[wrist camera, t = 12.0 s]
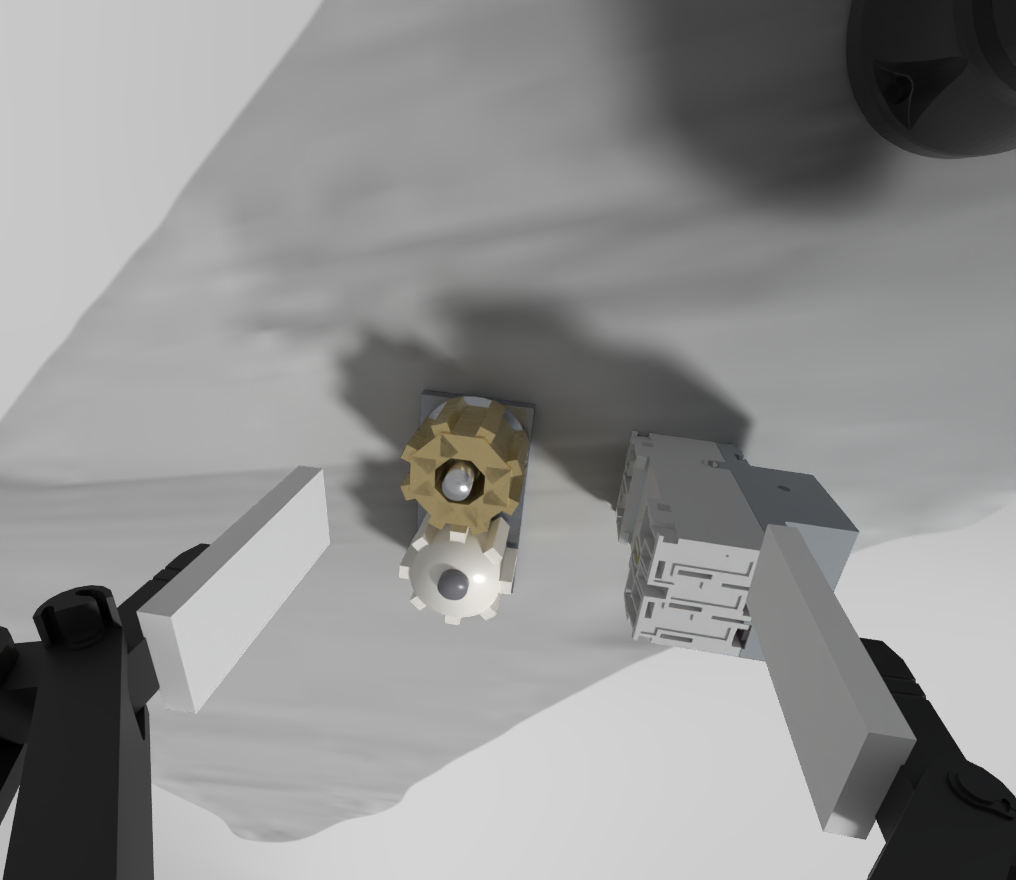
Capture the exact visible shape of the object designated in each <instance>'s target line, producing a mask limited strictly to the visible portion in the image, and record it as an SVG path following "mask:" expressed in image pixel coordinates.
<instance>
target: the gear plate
mask: <svg viewBox="0 0 1016 880" xmlns="http://www.w3.org/2000/svg"><path fill="white" fill-rule="evenodd" d="M460 396H463V398H464V401H465V403H466V405H472V406H480V407H487V408H488V407H489V405H490V403H491V401H492V400H494V401H496V402H498V403H500V404H502V405H504V406H505V407H506V408H505V411H504V414H503V417H504V418H505V420H506V421H507V422H508V423H509V424H510V425H511V427H512V428H513V429H514V430H515V431H519V430H523V429H525V431H526V434H527V437H528V440H529V446H528V451H527V456H526V460H525V465H524V468H526V472H525V477H524V482H523V487H522V492H521V497H520V501H519V504H518V506H517V507H516V509H515V511H514V512H513V514H512V515H509V514H507V513H505V512H504V511H501V512H499V513H498V514H496V515H495V516H493V517H492V518H491V521H494V520H496V519H498V518H499V517H502V518H503V519H504V520H505V521H506V523H507V524H508V525H509V526H510V528H509V532H508V537H507V541H506V545H507V548H513V549H518V544H519V536H520V527H521V518H522V510H523V501H524V493H525V484H526V476H527V467H528V459H529V450H530V442H531V433H532V424H533V416H534V407H535V404H529V403H521V402H513V401H505V400H497V399H489V398H482V397H477V396H466V395H458V394H450V393H442V392H434V391H427V390H424V391H423V392H422V393H421V406H420V426H421V424H422V423H423V422H424V420H425V419H426V417H427V416H428V417H429V418H431V419H433V420H435V419H436V418H437V416H438V415H439V413H440V412H441V410H442V409H443V407H444V406H445V404H446V403H447V401H448V400H449V399H452V398H456V397H460ZM477 472H478V468H477V467H476V465H475V464H474V463H473V462H472V461H469V460H461V459H454V461H453V463H452V465H451V467H450V469H449V471H448V473H447V475H446V477H445V479H444V481H443V483H442V491H443V493H444V495H445V496H446V497H448V498H449V499H451V500H454V501H461V500H463V499H465V498H466V497H467V496H468V495H469V493H470V490H471V488H472V485H473V482H474V480H475V477H476V474H477ZM427 513H428V512H427V511H426V510H425V509H424V508H423V506H422V505H421V504H420V503H419V502H418V514H417V532H418V530H419V528H420V526H421V523H422V521H423V519H424V517H425V515H426V514H427ZM517 553H518V552H517ZM515 570H516V566H515ZM514 578H515V572H514V577H513V583H512V588H511V593H512V592H513V587H514Z"/></svg>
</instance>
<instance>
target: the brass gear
mask: <svg viewBox="0 0 1016 880" xmlns="http://www.w3.org/2000/svg"><path fill="white" fill-rule="evenodd" d="M505 408H506V407H505V406H504V405H502V404H500V403H498V402H496V401H494V400H492V401H491V403H490V405H489V407H488V408H487V407H480V406H472V405H466V403H465V401H464V398H463V396H460V397H456V398H452V399H449V400H448V401H447V403H446V404H445V406H444V407H443V409H442V410H441V412H440V413H439V415H438V416H437V418H436V419H435V420H433V419H431V418H429V417H428V416H427V417H426V419H425V420H424V422H423V423H422V424H421V426H420V427H419V429H418V430H417V432H416V433H415V434H414V436H413V437H412V439H411V440H410V441H409V443H408V444H407V446H406V448H405V450H404V452H403V454H402V456H401V458H402V459H404V460H406V461H407V462H409V463H411V465H410V472H409V473H408V475H407V477H406V478H405V480H404V481H403V483H402V485H401V486H400V487H401V490H402V492H403V494H404V497H405V499H406V500H411V499H416V500H417V501H418V502H419V503H420V504H421V505H422V506H423V508H424V509H425V510H426V511H427V512H428V513H429V514H430V515H431V516H430V518H429V520H428V522H427V523H429V524H431V525H433V526H435V527H437V528H439V529H441V530H442V528H443V527H444V525H445V523H448V524H455V525H462V526H469V527H470V530H471V533H472V534H477V533H482V532H487V531H488V527H489V524H490V520H491V518H492V517H493V516H495V515H496V514H498V513H499V512H501V511H504V512H505V513H507V514H509V515H512V514H513V512H514V511H515V509H516V507H517V506H518V504H519V501H520V497H521V492H522V487H523V482H524V477H525V472H526V468H524V465H525V460H526V456H527V451H528V446H529V440H528V437H527V434H526V431H525V429H523V430H519V431H515V430H514V429H513V428H512V427H511V425H510V424H509V423H508V422H507V421H506V420H505V418H504V417H503V414H504V411H505ZM454 459H461V460H469V461H472V462H473V463H474V464H475V465H476V467H477V468H478V472H477V474H476V477H475V480H474V482H473V485H472V488H471V490H470V493H469V495H468V496H467V497H466V498H465V499H463V500H461V501H454V500H451V499H449V498H448V497H446V496H445V495H444V493H443V491H442V483H443V481H444V479H445V477H446V475H447V473H448V471H449V469H450V467H451V465H452V463H453V461H454Z"/></svg>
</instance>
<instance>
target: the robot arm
mask: <svg viewBox="0 0 1016 880" xmlns="http://www.w3.org/2000/svg"><path fill="white" fill-rule="evenodd" d="M847 65H848V72H849V78H850V82H851V86H852V89H853V92H854V95H855V98H856V100H857V102H858V104H859V106H860V108H861V110H862V112H863V114H864V115H865V117H866V118H867V119H868V121H869V122H870V123H871V125H872V126H873V127H874V128H875V129H876V130H877V131H878V132H879V133H880V134H881V135H882V136H883V137H885V138H886V139H887V140H889V141H890V142H892V143H893V144H895V145H896V146H898V147H900V148H902V149H904V150H907V151H909V152H912V153H915V154H918V155H922V156H926V157H932V158H943V159H957V158H967V157H977V156H986V155H992V154H998V153H1002V152H1006V151H1010V150H1013V149H1016V0H853V4H852V8H851V12H850V18H849V23H848V32H847ZM329 544H330V538H329V528H328V518H327V508H326V498H325V488H324V478H323V469H321V468H313V467H305V466H298V467H297V468H296V469H295V470H294V471H293V472H292V473H291V474H290V475H288V476H287V477H286V478H285V479H284V480H283V481H282V482H281V483H279V484H278V485H277V486H276V487H275V488H274V489H273V490H272V491H271V492H269V493H268V494H267V495H266V496H265V497H264V498H263V499H262V500H260V501H259V502H258V503H257V504H256V505H255V506H254V507H253V508H251V509H250V510H249V511H248V512H247V513H246V514H245V515H244V516H243V517H241V518H240V519H239V520H238V521H237V522H236V523H235V524H234V525H232V526H231V527H230V528H229V529H228V530H227V531H226V532H225V533H224V534H222V535H221V536H220V537H219V538H218V539H217V540H216V541H215V542H213V543H212V544H211V545H209V544H202V543H201V544H199V545H197V546H195V547H193V548H191V549H189V550H187V551H185V552H183V553H181V554H180V555H179V556H178V557H176V558H175V559H174V560H173V561H172V562H170V563H169V564H168V565H167V566H166V567H165V570H164V569H162V570H161V571H160V572H159V573H158V574H156V575H155V576H154V577H153V580H149V581H148V582H147V583H146V584H145V585H143V586H142V587H141V588H140V589H139V590H138V591H136V592H135V593H134V594H133V595H132V596H131V597H129V598H128V599H127V600H126V601H125V602H123V603H122V604H121V605H120V606H119V607H118V608H116V604H115V601H114V598H113V595H112V592H111V590H110V589H108V588H106V587H104V586H94V585H90V586H83V587H77V588H74V589H71V590H68V591H65V592H62V593H60V594H58V595H56V596H54V597H52V598H50V599H49V600H47V601H46V602H45V603H43V604H42V605H41V606H40V607H39V608H38V609H37V610H36V612H35V614H34V616H33V620H34V622H35V625H36V627H37V630H38V633H39V635H40V638H41V640H42V641H37V642H26V643H15V644H14V642H13V639H12V637H11V634H10V633H9V631H8V629H7V628H4V627H1V626H0V825H1V822H2V820H3V818H4V816H5V814H6V812H7V810H8V808H9V806H10V804H11V801H12V800H13V798H14V796H15V793H16V792H17V789H18V787H19V785H20V788H19V793H18V799H17V804H16V809H15V815H14V820H13V826H12V831H11V837H10V842H9V847H8V853H7V859H6V864H5V869H4V875H3V880H154V868H153V832H152V798H151V762H150V727H149V712H148V708H147V705H146V703H147V702H148V700H149V699H150V698H151V697H152V696H153V695H154V694H155V693H156V692H157V690H158V689H159V691H160V695H161V698H162V702H163V705H164V708H166V709H172V710H177V711H182V712H188V713H193V714H196V713H197V712H198V711H199V709H200V708H201V707H202V706H203V704H204V703H205V702H206V701H207V699H208V698H209V697H210V695H211V694H212V693H213V692H214V690H215V689H216V688H217V687H218V685H219V684H220V683H221V681H222V680H223V679H224V678H225V676H226V675H227V674H228V673H229V671H230V670H231V669H232V667H233V666H234V665H235V664H236V662H237V661H238V660H239V659H240V657H241V656H242V655H243V653H244V652H245V651H246V650H247V648H248V647H249V646H250V645H251V643H252V642H253V641H254V639H255V638H256V637H257V636H258V634H259V633H260V632H261V630H262V629H263V628H264V627H265V625H266V624H267V623H268V622H269V620H270V619H271V618H272V616H273V615H274V614H275V613H276V611H277V610H278V609H279V608H280V606H281V605H282V604H283V602H284V601H285V600H286V599H287V597H288V596H289V595H290V594H291V592H292V591H293V590H294V588H295V587H296V586H297V585H298V583H299V582H300V581H301V580H302V578H303V577H304V576H305V574H306V573H307V572H308V571H309V569H310V568H311V567H312V566H313V564H314V563H315V562H316V560H317V559H318V558H319V557H320V555H321V554H322V553H323V552H324V550H325V549H326V548H327V546H328V545H329ZM746 605H747V608H748V611H749V614H750V617H751V620H752V623H753V626H754V629H755V632H756V634H757V637H758V640H759V643H760V646H761V649H762V652H763V655H764V658H765V661H766V664H767V667H768V670H769V673H770V676H771V679H772V681H773V685H774V688H775V691H776V694H777V696H778V700H779V703H780V705H781V708H782V711H783V714H784V717H785V720H786V723H787V726H788V729H789V732H790V735H791V738H792V741H793V744H794V747H795V749H796V753H797V756H798V759H799V762H800V765H801V767H802V770H803V774H804V776H805V779H806V782H807V785H808V788H809V791H810V794H811V797H812V800H813V803H814V806H815V809H816V812H817V815H818V818H819V821H820V824H821V827H822V830H823V832H828V833H833V834H838V835H844V836H849V837H854V838H860V839H866V838H867V836H868V834H869V832H870V830H871V828H872V827H873V825H874V823H875V820H877V823H878V825H879V827H880V829H881V832H882V834H883V837H884V839H885V841H886V844H885V846H884V848H883V849H882V851H881V853H880V855H879V857H878V859H877V860H876V862H875V864H874V866H873V868H872V870H871V872H870V873H869V875H868V878H867V880H1016V798H1015V796H1014V795H1013V794H1012V793H1011V792H1010V791H1009V789H1008V788H1007V787H1006V786H1005V785H1004V784H1003V783H1002V782H1001V781H1000V780H999V779H997V778H996V777H994V776H993V775H992V774H990V773H989V772H988V771H986V770H985V769H984V768H982V767H979V766H977V765H975V764H973V763H971V762H969V761H967V760H966V759H965V757H964V755H963V754H962V752H961V751H960V749H959V748H958V746H957V744H956V743H955V741H954V740H953V738H952V736H951V735H950V733H949V732H948V730H947V728H946V727H945V725H944V724H943V722H942V721H941V719H940V717H939V716H938V714H937V713H936V711H935V710H934V708H933V706H932V705H931V703H930V702H929V700H926V695H925V694H924V692H923V690H922V689H921V687H920V686H919V684H917V683H916V682H915V681H916V679H915V678H914V676H913V675H912V673H911V672H910V670H909V668H908V667H907V665H906V664H905V662H904V660H903V659H901V658H900V657H899V656H898V655H897V654H896V653H895V652H894V651H893V650H892V649H891V648H889V647H888V646H887V645H886V644H885V643H884V642H883V641H879V640H872V639H865V638H859V637H858V635H857V633H856V632H855V630H854V628H853V626H852V624H851V623H850V621H849V619H848V617H847V616H846V614H845V612H844V610H843V608H842V607H841V605H840V603H839V601H838V600H837V598H836V596H835V594H834V592H833V591H832V589H831V587H830V585H829V584H828V582H827V580H826V578H825V577H824V575H823V573H822V571H821V569H820V568H819V566H818V564H817V562H816V561H815V559H814V557H813V555H812V554H811V552H810V550H809V548H808V546H807V545H806V543H805V541H804V539H803V538H802V536H801V534H800V532H799V531H798V529H797V527H789V526H781V525H773V524H768V525H767V528H766V532H765V535H764V539H763V542H762V546H761V549H760V553H759V556H758V560H757V563H756V567H755V570H754V574H753V577H752V581H751V584H750V588H749V591H748V595H747V598H746Z"/></svg>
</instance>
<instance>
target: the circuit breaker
mask: <svg viewBox="0 0 1016 880" xmlns="http://www.w3.org/2000/svg"><path fill="white" fill-rule="evenodd" d="M637 435H638V431H632V434H631V439H630V444H629V449H628V453H627V458H626V463H625V468H624V472H623V477H622V482H621V487H620V492H619V496H618V501H617V506H616V511H615V513H616V514H617V520H616V522H617V532H618V542H620V543H623V544H626V545H628V543H629V544H631V551H632V552H631V557H630V561H629V569H630V570H629V574H628V579H627V583H626V587H625V591H624V599H625V608H626V616H627V620H628V621H629V622H631V625H632V628H633V632H632V637H633V640H638V636H644V637H650V640H651V643H656V644H662V645H668V646H674V647H680V648H686V649H693V650H698V651H705V652H711V653H716V654H723V655H728V656H735V657H741V658H747V659H753V660H759V661H765V658H764V655H763V652H762V649H761V646H760V643H759V640H758V637H757V634H756V632H755V629H754V626H753V623H752V620H751V617H750V614H749V611H748V608H747V605H746V598H747V595H748V591H749V588H750V584H751V581H752V577H753V574H754V570H755V567H756V563H757V560H758V556H759V553H760V549H761V546H762V542H763V539H764V535H765V532H766V528H767V525H768V524H773V525H781V526H789V527H797V529H798V531H799V532H800V534H801V536H802V538H803V539H804V541H805V543H806V545H807V546H808V548H809V550H810V552H811V554H812V555H813V557H814V559H815V561H816V562H817V564H818V566H819V568H820V569H821V571H822V573H823V575H824V577H825V578H826V580H827V582H828V584H829V585H830V587H831V589H832V591H833V592H834V590H835V588H836V586H837V583H838V581H839V579H840V576H841V574H842V571H843V568H844V566H845V564H846V562H847V560H848V557H849V555H850V553H851V550H852V548H853V545H854V543H855V541H856V538H857V536H858V534H859V530H858V529H857V528H856V527H855V525H854V524H853V523H852V522H851V520H850V519H849V518H848V517H847V516H846V514H845V513H844V512H843V511H842V510H841V508H840V507H839V506H838V505H837V504H836V502H835V501H834V500H833V499H832V498H831V496H830V495H829V494H828V493H827V492H826V490H825V489H824V488H823V487H822V486H821V484H820V483H819V482H818V481H817V480H816V478H815V477H814V476H813V475H809V474H802V473H795V472H788V471H781V470H774V469H767V468H760V467H754V466H750V465H749V463H748V462H747V460H746V459H745V460H742V459H743V454H742V452H741V451H740V449H739V448H738V446H737V445H732V444H725V443H718V442H711V441H703V440H696V439H689V438H682V437H675V436H668V435H660V434H653V433H649V436H648V437H642V436H637Z"/></svg>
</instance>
